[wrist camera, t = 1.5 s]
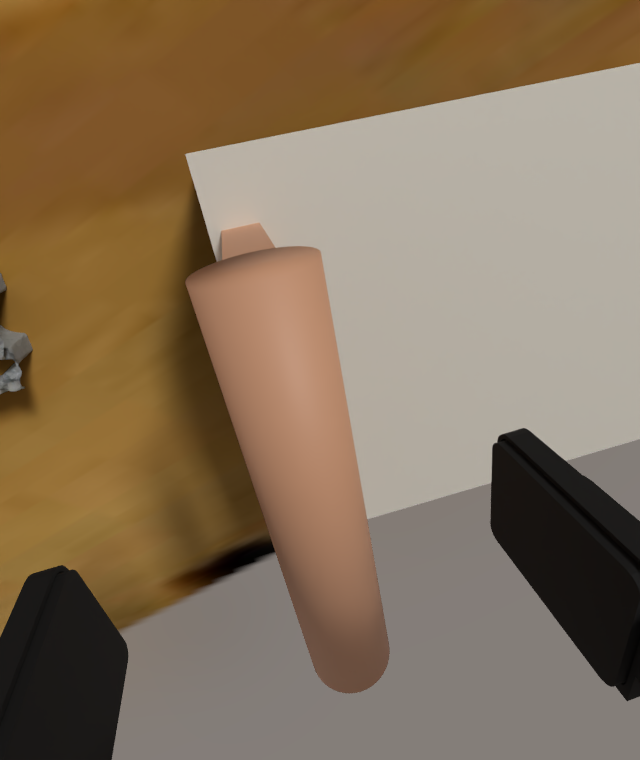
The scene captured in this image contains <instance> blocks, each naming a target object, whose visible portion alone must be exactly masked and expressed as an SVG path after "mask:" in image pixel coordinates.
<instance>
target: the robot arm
mask: <svg viewBox="0 0 640 760" xmlns="http://www.w3.org/2000/svg"><path fill="white" fill-rule="evenodd" d="M491 529H492V532H493V535H494V536H495V538H496V540H497V541H498V543H499V544H500V545H501V547H502V548H503V549H504V551H505V552H506V553H507V555H508V556H509V557H510V559H511V560H512V561H513V563H514V564H515V565H516V567H517V568H518V569H519V571H520V572H521V573H522V574H523V576H524V577H525V579H526V580H527V581H528V582H529V584H530V585H531V586H532V588H533V589H534V591H535V592H536V593H537V594H538V596H539V597H540V598H541V600H542V601H543V602H544V604H545V605H546V606H547V608H548V609H549V610H550V612H551V613H552V614H553V616H554V617H555V618H556V620H557V621H558V622H559V624H560V625H561V626H562V628H563V629H564V630H565V632H566V633H567V634H568V636H569V637H570V638H571V640H572V641H573V642H574V644H575V645H576V646H577V648H578V649H579V650H580V652H581V653H582V654H583V656H584V657H585V658H586V660H587V661H588V662H589V664H590V665H591V666H592V668H593V669H594V670H595V671H596V673H597V674H598V676H599V677H600V678H601V679H602V680H603V681H604V682H605V683H606V684H607V685H609V686H616V687H617V689H618V690H619V691H620V693H621V694H622V695H623V697H624V698H625V699H626V700H627V701H628V700H631V699H634V698H636V697H639V696H640V521H639V520H637V519H636V518H635V517H634V516H633V515H631V514H630V513H629V512H628V511H627V510H626V509H624V508H623V507H622V506H621V505H620V504H618V503H617V502H616V501H615V500H614V499H613V498H611V497H610V496H609V495H608V494H607V493H605V492H604V491H603V490H602V489H601V488H599V487H598V486H597V485H596V484H595V483H594V482H592V481H591V480H590V479H588V478H587V477H585V476H583V475H581V474H580V473H579V472H578V471H577V470H576V469H574V468H573V467H572V466H571V465H570V464H568V463H567V462H566V461H565V460H564V459H563V458H561V457H560V456H559V455H558V454H557V453H555V452H554V451H553V450H552V449H551V448H550V447H548V446H547V445H546V444H545V443H544V442H543V441H541V440H540V439H539V438H538V437H537V436H535V435H534V434H533V433H532V432H531V431H529V430H528V429H525V428H522V429H518V430H515V431H512V432H508V433H505V434H502V435H499V437H498V441H497V443H494V444H493V447H492V481H491ZM127 663H128V649H127V645H126V642H125V641H124V639H123V638H122V636H121V635H120V633H119V632H118V630H117V629H116V627H115V626H114V625H113V623H112V622H111V620H110V619H109V617H108V616H107V614H106V613H105V612H104V610H103V609H102V607H101V606H100V604H99V603H98V601H97V600H96V598H95V597H94V596H93V594H92V593H91V591H90V590H89V588H88V587H87V585H86V584H85V582H84V581H83V580H82V578H81V577H80V575H79V574H78V572H77V571H76V570H68V569H67V568H66V567H65V566H63V565H61V566H57V567H54V568H50V569H47V570H44V571H40V572H37V573H34V574H31V575H30V576H29V577H28V578H27V579H26V581H25V583H24V585H23V587H22V590H21V592H20V594H19V596H18V599H17V601H16V603H15V606H14V608H13V610H12V612H11V615H10V617H9V619H8V621H7V624H6V626H5V628H4V630H3V633H2V635H1V637H0V760H111V759H112V753H113V747H114V741H115V736H116V729H117V723H118V717H119V711H120V705H121V699H122V693H123V687H124V681H125V674H126V669H127Z"/></svg>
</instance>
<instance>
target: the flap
mask: <svg viewBox="0 0 640 760" xmlns="http://www.w3.org/2000/svg"><path fill="white" fill-rule="evenodd" d="M185 155H186V158H187V162H188V165H189V168H190V172H191V175H192V179H193V182H194V186H195V189H196V192H197V196H198V199H199V203H200V206H201V210H202V213H203V216H204V220H205V223H206V227H207V230H208V234H209V237H210V240H211V244H212V247H213V251H214V254H215V257H216V261H217V262H215V263H213V264H210V265H208V266H205V267H203V268H201V269H199V270H197V271H196V272H194V273H192V274H191V275H190V276H189V277H188V278H187V279H186V281H185V284H186V286H187V289H188V292H189V295H190V298H191V301H192V304H193V307H194V310H195V313H196V316H197V319H198V322H199V325H200V328H201V331H202V334H203V337H204V340H205V343H206V346H207V349H208V352H209V355H210V358H211V361H212V364H213V367H214V370H215V373H216V376H217V379H218V382H219V385H220V388H221V391H222V394H223V397H224V400H225V403H226V406H227V409H228V412H229V415H230V418H231V421H232V424H233V427H234V430H235V433H236V436H237V439H238V442H239V445H240V448H241V451H242V454H243V457H244V460H245V462H246V465H247V468H248V471H249V474H250V477H251V480H252V483H253V486H254V489H255V492H256V495H257V498H258V501H259V504H260V507H261V510H262V513H263V516H264V519H265V522H266V525H267V528H268V531H269V534H270V537H271V540H272V543H273V546H274V549H275V552H276V555H277V558H278V561H279V564H280V567H281V570H282V572H283V576H284V579H285V582H286V585H287V588H288V591H289V594H290V597H291V600H292V603H293V606H294V609H295V612H296V615H297V618H298V620H299V624H300V627H301V629H302V633H303V636H304V639H305V641H306V644H307V647H308V650H309V653H310V656H311V659H312V662H313V665H314V668H315V671H316V673H317V674H318V676H319V677H320V679H321V680H322V681H323V682H324V683H325V684H326V685H327V686H328V687H330V688H332V689H334V690H336V691H338V692H342V693H357V692H361V691H363V690H366V689H368V688H369V687H371V686H372V685H374V684H375V683H376V682H377V681H378V680H379V679H380V678H381V676H382V675H383V673H384V671H385V669H386V667H387V664H388V660H389V642H388V637H387V631H386V625H385V619H384V614H383V608H382V602H381V596H380V590H379V585H378V579H377V574H376V567H375V562H374V556H373V550H372V544H371V538H370V533H369V527H368V522H367V519H370V518H373V517H377V516H381V515H384V514H387V513H391V512H394V511H398V510H401V509H404V508H408V507H411V506H415V505H418V504H421V503H424V502H427V501H431V500H435V499H438V498H442V497H445V496H448V495H452V494H455V493H458V492H462V491H465V490H469V489H472V488H475V487H478V486H482V485H486V484H489V483H491V481H492V447H493V444H494V443H497V441H498V437H499V435H502V434H505V433H508V432H512V431H515V430H518V429H522V428H525V429H528V430H529V431H531V432H532V433H533V434H534V435H535V436H537V437H538V438H539V439H540V440H541V441H543V442H544V443H545V444H546V445H547V446H548V447H550V448H551V449H552V450H553V451H554V452H555V453H557V454H558V455H559V456H560V457H561V458H563V459H564V460H565V461H566V460H570V459H574V458H577V457H580V456H584V455H587V454H590V453H594V452H597V451H601V450H604V449H607V448H611V447H614V446H617V445H621V444H624V443H627V442H631V441H635V440H638V439H640V63H637V64H632V65H627V66H622V67H617V68H612V69H607V70H602V71H597V72H592V73H587V74H582V75H577V76H572V77H567V78H562V79H557V80H552V81H547V82H542V83H537V84H532V85H527V86H522V87H517V88H512V89H507V90H502V91H497V92H492V93H487V94H482V95H477V96H472V97H467V98H462V99H457V100H452V101H447V102H442V103H437V104H432V105H427V106H423V107H418V108H413V109H408V110H403V111H398V112H393V113H388V114H383V115H378V116H373V117H368V118H363V119H358V120H353V121H348V122H343V123H338V124H333V125H328V126H323V127H318V128H313V129H308V130H303V131H298V132H293V133H288V134H283V135H278V136H273V137H268V138H263V139H258V140H253V141H248V142H243V143H238V144H233V145H228V146H223V147H218V148H213V149H208V150H203V151H198V152H193V153H188V154H185Z"/></svg>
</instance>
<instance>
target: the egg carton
mask: <svg viewBox="0 0 640 760" xmlns="http://www.w3.org/2000/svg"><path fill="white" fill-rule="evenodd" d="M5 290H6V285H5V283H4V280H3V278H2V274H1V273H0V293H2V292H3V291H5ZM32 350H33V349H32V346H31V343H30V342H29V339H28V336H27V335H26V334H25V333H16V332H12V331H9V330H7V329H5V328H3V327H2V326H1V325H0V360H7V359H12V360H14V361H15V363H14V364H13V365H12V366H11V367H10V368H9V369H8V370H7V371H6V372H5V373H4V374H3V375H0V394H2V393H4V392H7V391H11V392H14V391H18V390H21V389H23V388H25V387H23V386H21V384H20V377H21V375H22V371H21V369H20V367H19V365H18V364H19V363H20V362H21V361H22V360H23V359H24V358H25V357H26V356H27V355H28V354H29V353H30V352H31V351H32Z"/></svg>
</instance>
